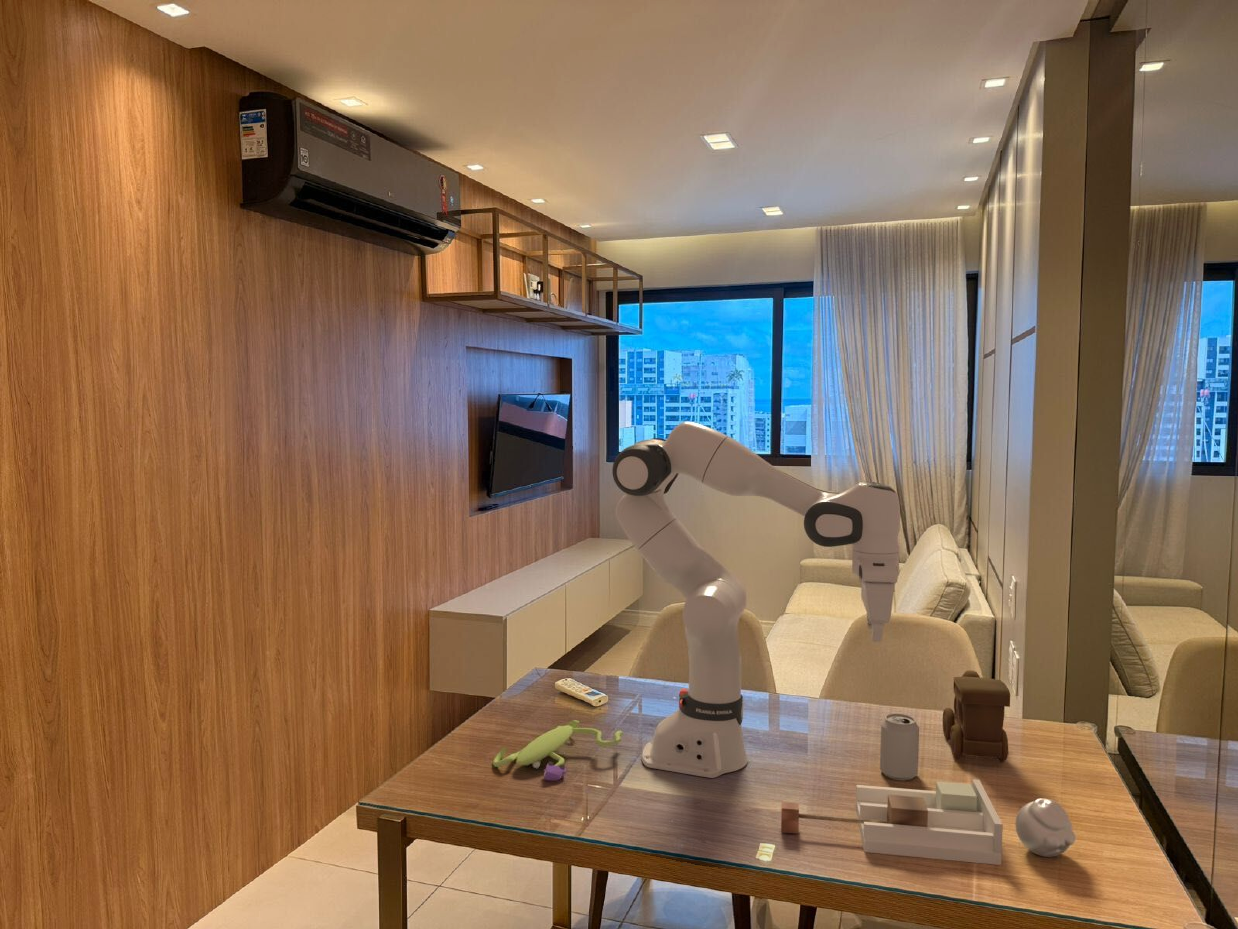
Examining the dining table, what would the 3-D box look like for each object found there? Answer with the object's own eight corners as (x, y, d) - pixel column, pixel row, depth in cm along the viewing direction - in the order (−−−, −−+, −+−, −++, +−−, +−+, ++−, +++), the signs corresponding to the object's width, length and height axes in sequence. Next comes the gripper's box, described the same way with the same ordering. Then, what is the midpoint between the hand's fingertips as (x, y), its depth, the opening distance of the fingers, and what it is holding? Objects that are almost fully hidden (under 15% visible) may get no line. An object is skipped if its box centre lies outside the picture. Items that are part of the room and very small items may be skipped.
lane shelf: (864, 852, 147) (865, 812, 147) (855, 805, 164) (856, 770, 163) (1001, 865, 143) (1002, 824, 143) (977, 816, 160) (979, 779, 160)
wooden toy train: (1012, 771, 179) (1015, 693, 178) (954, 766, 182) (957, 689, 180) (991, 735, 199) (994, 664, 198) (939, 731, 201) (941, 661, 200)
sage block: (940, 820, 154) (941, 793, 154) (935, 807, 159) (936, 781, 159) (975, 823, 153) (976, 796, 153) (969, 810, 158) (970, 784, 158)
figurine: (634, 755, 188) (634, 730, 188) (538, 793, 169) (538, 766, 169) (578, 731, 201) (578, 708, 201) (483, 764, 183) (483, 738, 182)
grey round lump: (1014, 862, 144) (1017, 804, 144) (1014, 836, 153) (1016, 781, 152) (1075, 874, 141) (1078, 815, 140) (1071, 847, 149) (1073, 791, 149)
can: (920, 784, 174) (922, 726, 173) (881, 780, 175) (883, 723, 174) (915, 768, 181) (917, 712, 180) (878, 765, 182) (879, 709, 181)
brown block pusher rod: (781, 835, 152) (782, 798, 152) (781, 822, 157) (781, 786, 157) (926, 849, 148) (927, 811, 147) (921, 834, 153) (923, 797, 152)
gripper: (854, 554, 180) (853, 620, 181) (863, 574, 160) (862, 647, 161) (886, 555, 178) (885, 621, 180) (898, 575, 158) (897, 649, 159)
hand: (874, 634), depth 170 cm, fingers open, 8 cm apart
